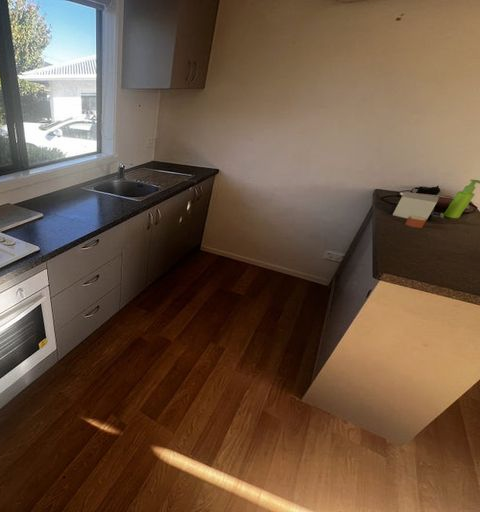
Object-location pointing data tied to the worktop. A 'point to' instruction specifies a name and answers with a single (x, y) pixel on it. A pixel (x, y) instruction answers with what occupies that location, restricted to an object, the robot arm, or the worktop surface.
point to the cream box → (415, 205)
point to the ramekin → (415, 221)
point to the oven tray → (435, 215)
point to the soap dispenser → (461, 201)
